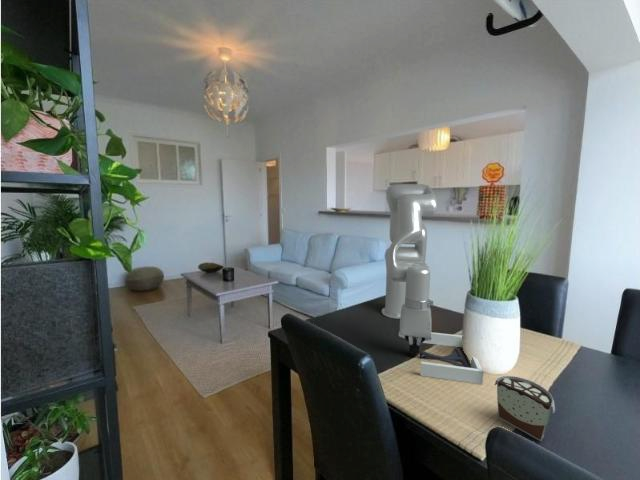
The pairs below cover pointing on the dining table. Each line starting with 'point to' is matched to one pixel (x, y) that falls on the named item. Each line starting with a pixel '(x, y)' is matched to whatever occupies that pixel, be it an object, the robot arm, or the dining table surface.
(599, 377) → the dining table surface
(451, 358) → the bracket
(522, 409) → the mint chocolate cake slice
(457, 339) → the box
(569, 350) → the dining table surface
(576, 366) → the dining table surface
